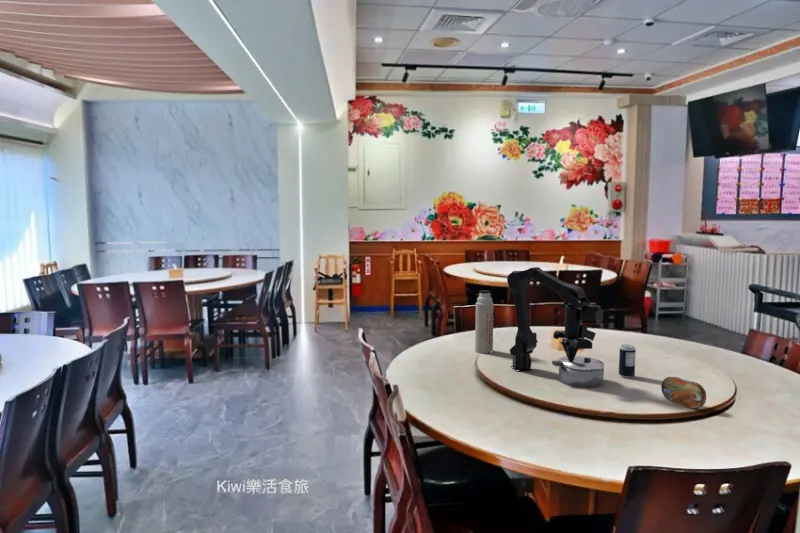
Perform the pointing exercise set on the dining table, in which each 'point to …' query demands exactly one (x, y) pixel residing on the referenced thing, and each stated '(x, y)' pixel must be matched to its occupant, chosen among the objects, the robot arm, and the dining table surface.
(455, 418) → the dining table surface
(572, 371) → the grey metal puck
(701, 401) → the tin
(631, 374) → the beverage can
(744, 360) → the dining table surface
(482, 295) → the thermos bottle
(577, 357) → the cooker lid
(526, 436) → the dining table surface
